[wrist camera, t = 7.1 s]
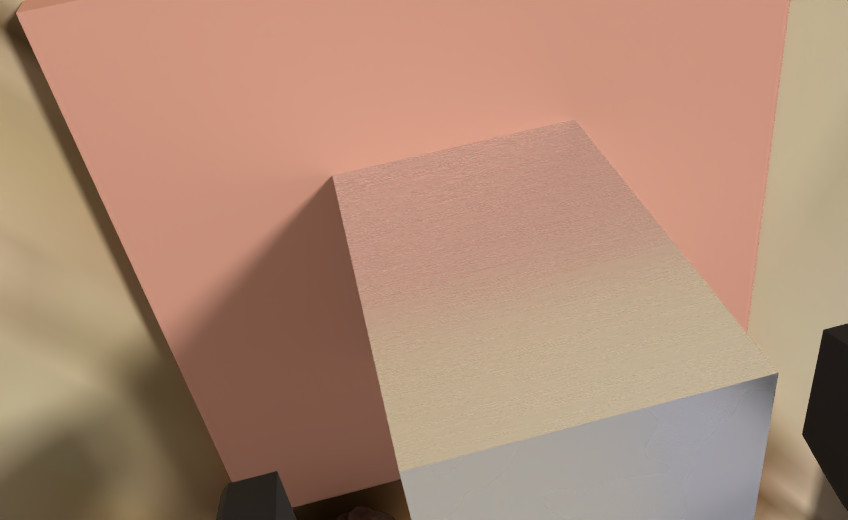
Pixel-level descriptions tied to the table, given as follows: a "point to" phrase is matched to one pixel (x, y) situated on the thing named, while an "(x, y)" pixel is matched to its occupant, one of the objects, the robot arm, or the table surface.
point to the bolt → (364, 515)
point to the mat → (372, 145)
